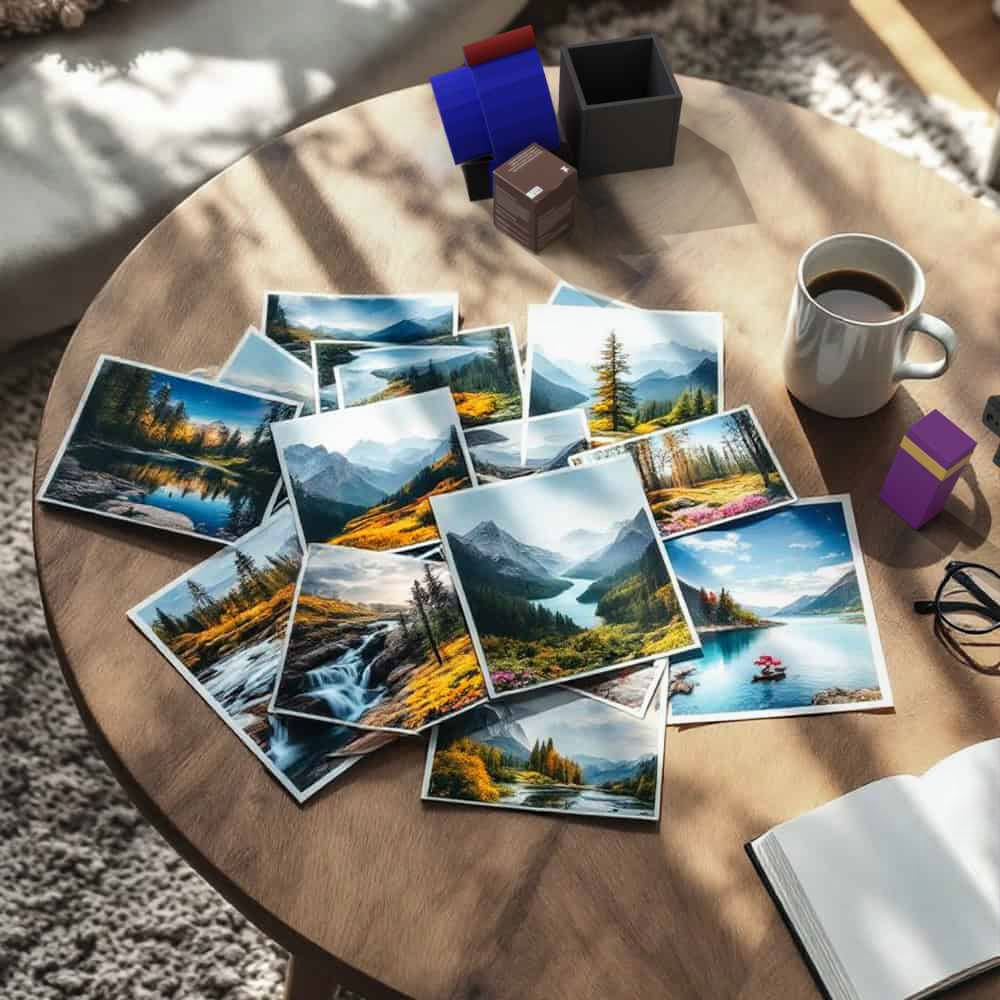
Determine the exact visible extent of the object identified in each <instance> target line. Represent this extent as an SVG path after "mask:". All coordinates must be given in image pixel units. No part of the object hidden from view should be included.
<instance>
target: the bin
mask: <svg viewBox="0 0 1000 1000" xmlns="http://www.w3.org/2000/svg"><path fill="white" fill-rule="evenodd" d="M559 56H560V57H559V78H558V79H559V80H558V82H559V83H558V101H557V102H558V103H557V116H558V120H559V122H560V125H561V128H562V131H563V135H564V138H565V141H566V144H567V147H568V151H569V153H570V157H571V159H572V162H573V165H574V169H576V170H577V171H578V173H577V179H585V178H592V177H599V176H605V175H613V174H614V175H615V174H620V173H621V174H622V173H627V172H635V171H643V170H649V169H657V168H664V167H671V166H672V167H673V166H674V163H675V156H676V155H675V154H676V148H677V142H678V141H677V140H678V133H679V129H680V128H679V126H680V119H681V113H682V112H681V111H682V105H683V98H684V97H683V93H682V91H681V89H680V86H679V84H678V82H677V79H676V76H675V74H674V72H673V70H672V67H671V64H670V62H669V60H668V57H667V55H666V52H665V50H664V47H663V45H662V42H661V40H660V38H659V36H658V33H651V34H650V33H649V34H642V35H635V36H634V35H633V36H626V37H618V38H609V39H603V40H602V39H601V40H594V41H585V42H578V43H572V44H571V43H570V44H563V45H560V54H559Z"/></svg>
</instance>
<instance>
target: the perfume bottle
mask: <svg viewBox="0 0 1000 1000" xmlns="http://www.w3.org/2000/svg"><path fill="white" fill-rule="evenodd" d="M977 445H978V442H977V441H976V440H975V439H973V438H972V437H971V436H970V435H969V434H968V433H966V432H965V431H964V430H963V429H962V428H960V427H959V426H957V425H956V424H955V423H954V422H953V421H951V419H949V418H948V417H946V416H945V414H943V413H942V412H940V411H939V410H938V409H937V408H934V409H932V411H930V412H929V413H927V414H926V415H924V416H923V417H921V418H920V419H919V420H918V421H915V422H914V423H913V424H912V425H910V426H909V427H908V429H907V430H906V433H905V435H903V438H902V440H901V443H900V444H899V446H900V447H899V448H898V451H897V453H896V455H895V457H894V460H893V462H892V464H891V467H890V469H889V471H888V474H887V475H886V477H885V480H884V482H883V485H882V486H881V488H880V491H879V493H878V495H877V497H878V499H880V500H881V501H882V502H883V503H884V504H886V506H887V507H888V508H890V509H891V510H892V511H894V512H895V513H896V514H897V516H899V517H900V518H901V519H903V520H904V521H905V522H906V523H907V524H908V525H909V526H910V527H912V528H913V529H914V530H915V531H918V530H919V529H920V528H922V527H923V526H924V525H925V524H927V523H928V522H930V521H931V520H932V519H933V518H934V517H936V516H938V515H939V514H940V513H941V512H942V511H943V509H944V507H945V505H946V503H947V501H948V499H949V498H950V496H951V493H953V490H954V488H955V487H956V485H957V483H958V482H959V479H960V477H961V475H962V473H963V471H964V469H965V468H966V466H967V465H968V462H970V460H971V458H972V457H973V454H974V453H975V451H974V450H975V449H976V448H977Z"/></svg>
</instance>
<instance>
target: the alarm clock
mask: <svg viewBox="0 0 1000 1000" xmlns="http://www.w3.org/2000/svg"><path fill="white" fill-rule="evenodd" d="M461 49H462V54H463V58H464V59H463V60H464V62H465V65H464V66H460V67H458V68H454V69H451V70H449V71H448V70H447V71H444V72H442V73H438V74H436V75H432V76H429V81H430V82H429V83H430V85H431V89H432V93H433V97H434V100H435V103H436V107H437V109H438V113H439V117H440V120H441V123H442V127H443V131H444V133H445V137H446V140H447V144H448V147H449V150H450V153H451V157H452V160H453V163H454V166H459V165H461V164H463V165H461V169H462V173H463V177H464V182H465V186H466V190H467V195H468V200H469V202H476V201H481V200H488V199H493V171H494V170H495V169H497V168H498V167H500V166H501V165H502V164H504V163H505V162H507V161H508V160H510V159H511V158H512V157H514V156H515V155H517V154H518V153H520V152H521V151H522V150H524V149H525V148H527V147H528V146H530V145H531V144H532V143H534V142H535V143H537V144H538V145H540V146H541V147H543V148H544V149H546V150H547V151H549V152H550V153H552V154H553V155H555V156H556V157H558V152H557V149H559V148H560V147H561V139H560V132H559V126H558V125H559V124H558V121H557V116H556V111H555V107H554V103H553V99H552V95H551V91H550V87H549V84H548V80H547V77H546V72H545V70H544V65H543V63H542V60H541V57H540V53H539V50H538V48H537V40H536V36H535V32H534V29H533V26H532V25H531V24H529V25H526V26H523V27H519V28H516V29H512V30H510V31H507V32H502V33H501V34H497V35H493V36H490V37H487V38H483V39H481V40H478V41H475V42H471V43H467V44H465V45H462V46H461ZM487 156H491V157H492V159H490V160H483V161H478V162H471V163H468V162H470V161H474V160H477V159H480V158H481V159H482V158H484V157H487Z"/></svg>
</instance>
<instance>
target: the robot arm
mask: <svg viewBox="0 0 1000 1000" xmlns="http://www.w3.org/2000/svg"><path fill="white" fill-rule="evenodd" d="M981 422H982V424H983V425H984V426H985V427H986V428H987V429H989V431H991V432H992V433H993V434H994V435H995V436H996V437H998V438H999V439H1000V394H995V395H990V396H988V399H987V401H986V404H985V407H984V409H983V413H982V416H981ZM991 461H992V463H993V464H994V465H995V466H996V467H998V468H999V469H1000V442H999V443H998V446H997V448H996V451H995V453H994V455H993V458H992V460H991Z"/></svg>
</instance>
